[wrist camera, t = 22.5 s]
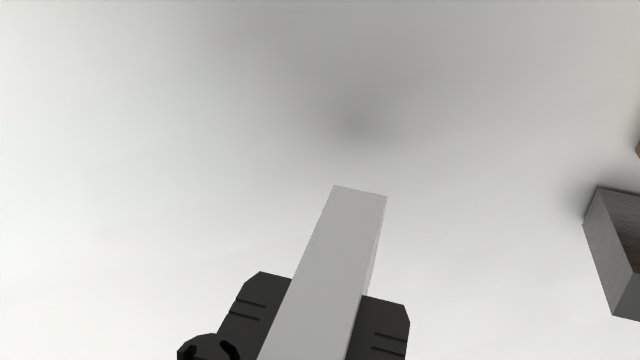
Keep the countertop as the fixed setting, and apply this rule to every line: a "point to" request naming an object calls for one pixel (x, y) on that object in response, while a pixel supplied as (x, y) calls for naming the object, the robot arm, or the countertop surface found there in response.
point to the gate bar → (616, 249)
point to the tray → (638, 150)
